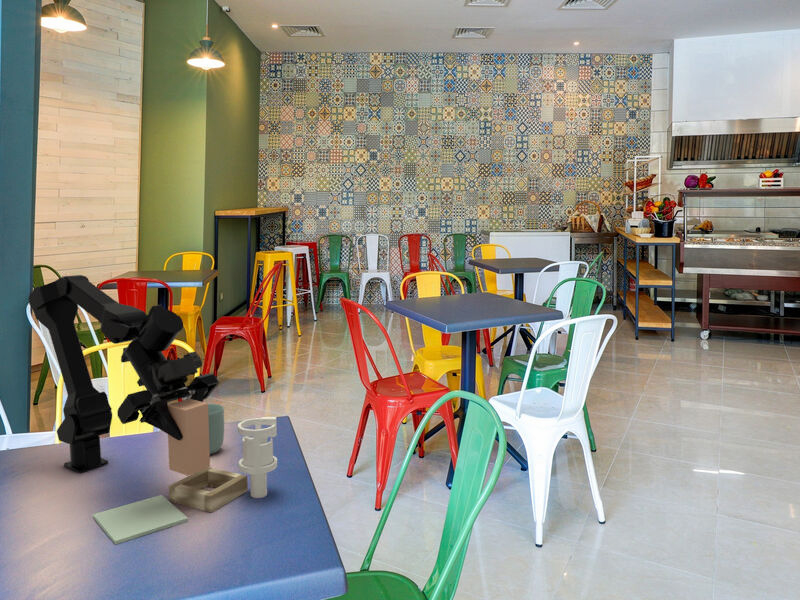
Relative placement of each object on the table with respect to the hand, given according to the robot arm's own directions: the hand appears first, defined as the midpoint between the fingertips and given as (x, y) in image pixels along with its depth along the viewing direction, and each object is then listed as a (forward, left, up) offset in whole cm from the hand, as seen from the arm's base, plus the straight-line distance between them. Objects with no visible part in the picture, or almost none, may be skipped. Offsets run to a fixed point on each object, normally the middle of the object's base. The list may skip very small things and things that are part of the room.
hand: (193, 434), depth 113 cm
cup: (-20, +18, -14) cm, 30 cm away
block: (-1, 0, -7) cm, 7 cm away
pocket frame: (-1, +4, -13) cm, 14 cm away
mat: (-3, -9, -13) cm, 17 cm away
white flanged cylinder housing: (+6, +10, -14) cm, 18 cm away
